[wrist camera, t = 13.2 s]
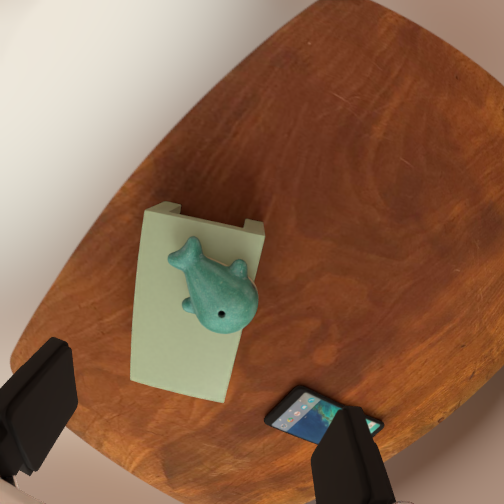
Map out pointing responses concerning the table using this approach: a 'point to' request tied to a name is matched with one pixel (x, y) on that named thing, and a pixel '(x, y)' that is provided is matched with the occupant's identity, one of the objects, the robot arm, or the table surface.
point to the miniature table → (170, 304)
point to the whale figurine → (216, 289)
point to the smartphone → (309, 415)
